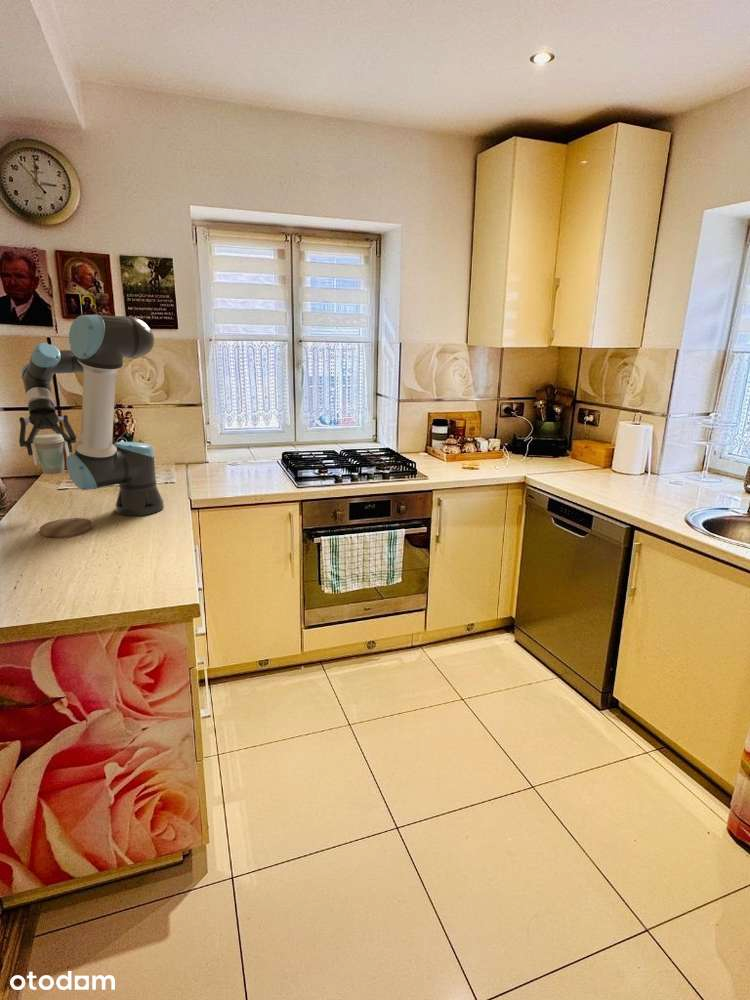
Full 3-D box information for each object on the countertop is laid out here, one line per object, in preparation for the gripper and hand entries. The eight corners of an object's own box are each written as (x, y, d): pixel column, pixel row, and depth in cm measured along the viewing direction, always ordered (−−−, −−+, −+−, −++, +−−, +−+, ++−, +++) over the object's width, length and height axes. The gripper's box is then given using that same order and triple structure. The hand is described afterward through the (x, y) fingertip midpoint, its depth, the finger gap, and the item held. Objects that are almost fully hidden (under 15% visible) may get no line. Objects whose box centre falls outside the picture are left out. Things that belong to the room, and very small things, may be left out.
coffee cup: (37, 476, 174) (31, 438, 170) (38, 470, 181) (33, 434, 177) (68, 474, 177) (63, 436, 174) (68, 468, 185) (63, 432, 181)
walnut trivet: (99, 522, 177) (99, 518, 176) (80, 537, 163) (79, 533, 163) (54, 522, 176) (53, 518, 175) (31, 538, 162) (30, 533, 162)
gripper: (77, 410, 192) (89, 464, 184) (3, 413, 181) (13, 471, 172) (77, 396, 186) (90, 451, 178) (1, 398, 175) (11, 458, 167)
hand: (52, 461), depth 175 cm, fingers closed on coffee cup, 8 cm apart
